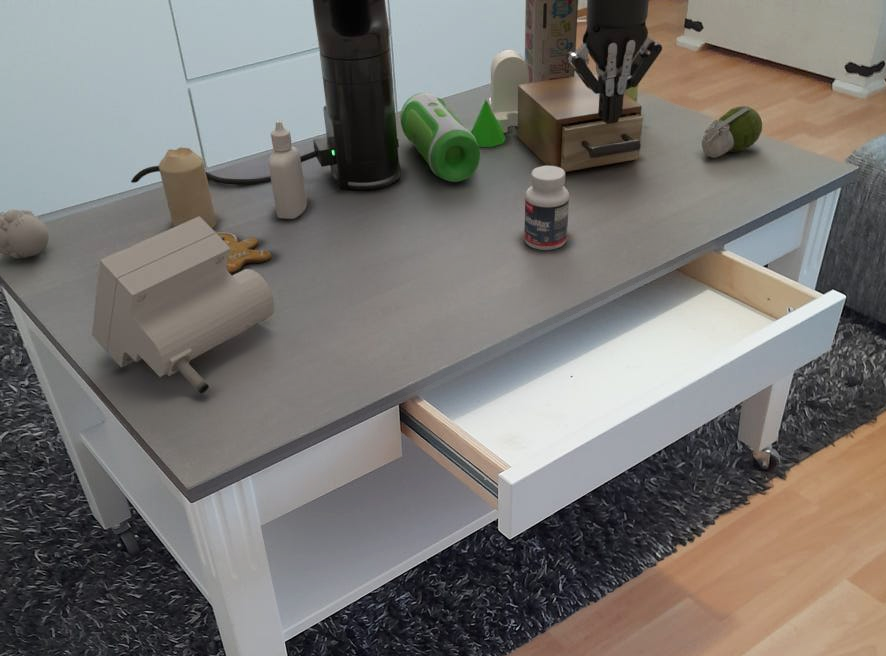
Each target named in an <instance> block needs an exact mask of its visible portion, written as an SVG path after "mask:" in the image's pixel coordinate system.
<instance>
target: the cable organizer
mask: <svg viewBox="0 0 886 656" xmlns="http://www.w3.org/2000/svg"><path fill="white" fill-rule="evenodd" d="M528 83H529V71H528V67H527V65H526V63H525V58H524V57H523V56H522V54H521V53H520V52H518V51H517V50H514V49H504V50H501V51H500V52H498V53H497V54H496V55H495V56H494V57H493V59H492V62H491V63H490V97H489V98H488V104H489V106H490V108H491V110H492V112H493V114H494V116H495V118H496V120H497V122H498V124H499V125H500V127H501V129H502V131H503V133H504V134H505V133H509V132H508V131H509V130H508V129H509V127H517V126H518V85H522V84H528Z"/></svg>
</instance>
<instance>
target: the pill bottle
mask: <svg viewBox="0 0 886 656" xmlns="http://www.w3.org/2000/svg"><path fill="white" fill-rule="evenodd" d="M530 177H531V179H530V185H531V186H529V188H527V190H526V192H525V196H524V227H523V228H524V232H523V235H524V237H523V239H524V242H525V244H526V245H527V246H529V247H530V248H532V249H535V250H540V251H551V250H556V249H559V248H561V247H563V246H564V245H565V244H566V242H567V239H568V225H569V223H568V222H569V206H570V193H569V191H568V189H567V188H566V187H565V183H566V172H565V171H564V170H563V169H561V168H559V167H556V166H547V165H541V166H538V167H535V168H534V169H532V171H531V174H530Z"/></svg>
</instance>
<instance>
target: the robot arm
mask: <svg viewBox="0 0 886 656" xmlns="http://www.w3.org/2000/svg"><path fill="white" fill-rule="evenodd" d="M649 3H650V0H586V29H585V32H584V34H583V36H582V43H581V44H580V45H579V47H578V48H576V51H575V52H569V53H568V54H567V56H566V59H567V61H568V62H569V64H570V65H571V66H572V68H573V69H574V70H575V73H576V74H577V76H579V77H580V78H581V80H582V81H583V83H584V84H585V85H586V87H587V88H589V89H591V90H592V91H593V92H594V93H595V94H598V93H599V109H598V114H599V117H601V118H602V120H603V121H604V122H605V123H606V124H610V123H616V122H618V118H619V117H621V115H622V109H623V96H624V93H625V91H626V90H627V89H629V88H631V87H636V86H637V85H638V86H639V83H641V81H642V80H643V78H644V77H645V75H646V74H647V73H648V72H649V70H650V68H651V67H652V65H653V64H654V63H655V61H656V60H657V58H658V57H659V55H660V54H661V53H662V51H663V45H662V44H660V43H659V42H657V41H655V40H654V39H652V38H650V37H649V30H648V28H647V23H646V21H647V19H648V16H649V15H648V14H649V5H650V4H649ZM312 7H313V9H312V10H313V18H314V23H315V30H316V36H317V44H318V51H319V58H320V68H321V76H322V84H323V92H324V100H325V101H324V102H325V105H324V106H323V108H322V111H323V117H324V126H325V134H326V135H325V136H326V137H320V138H314V139H313V140H312V142H313V148H314V149H313V150H314V151H311V152H308V153H305V154H303V155H300V158H301V163H303V162H306V161H309V160H311V159H314V158H316V159H317V161H318V163H319V165H320V167H323V168H324V167H330V174H331V176H332V178H333V179H334V182H335V183H336V184H337V186H338V188H339V190H355V191H356V190H358V191H369V190H370V191H371V190H376V189H380V188H381V189H382V188H384V187H387V186H390V185H392V184H394V183H396V182H397V181H398V180H399V178H400V177H401V166H400V158H399V148H400V144H399V138H398V129H397V118H396V117H397V116H396V105H395V102H396V101H395V91H394V90H395V89H394V76H393V62H392V49H391V35H390V24H389V19H388V13H387V6H386V0H312ZM638 51H639V53H638ZM637 53H638V54H637ZM636 54H637V55H636ZM589 56H590V57H591V59H592V60H593V62H594V63H595V71H596V73H597V74H598V80H597V79H596V78H595V76H594V75H593V72H592V71H591V69H590V68H589V66H588V65H589V64H590V63H589V62H590V59H589ZM635 56H636V57H635ZM634 57H635V58H634ZM633 59H634V60H633ZM632 60H633V61H632ZM157 172H159V173H160V170H159V165H153V166H148V167H146V168H143V169H142V170H140V171H138V172H137V173H136V174H135V175H134V176H133V177H132V179H131V180H130V183H131V184H132V183H133V184H135V183H138V182H139V181H140V180H141V179H142V178H143V177H145V176H147V175H149V174H152V173H157ZM205 172H206V176H207V180H209V181H211V182H214V183H217V184H221V185H233V186H235V185H236V186H251V185H253V186H254V185H259V184H264V183H265V184H266V183H269V182H271V176H266V177H259V178H227V177H226V178H225V177H219V176H216V175H213V174H212V173H210V172H208V171H205Z"/></svg>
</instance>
